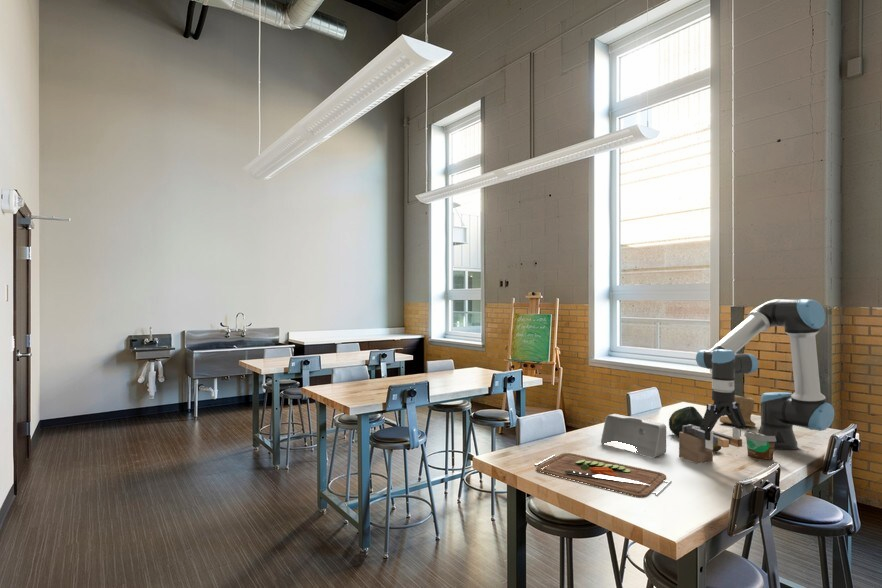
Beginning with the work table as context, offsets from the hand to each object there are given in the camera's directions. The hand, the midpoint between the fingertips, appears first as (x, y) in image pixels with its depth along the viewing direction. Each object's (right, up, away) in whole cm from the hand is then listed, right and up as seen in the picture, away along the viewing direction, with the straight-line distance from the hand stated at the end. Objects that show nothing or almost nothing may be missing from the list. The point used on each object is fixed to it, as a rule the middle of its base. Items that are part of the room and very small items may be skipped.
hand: (722, 447), depth 190 cm
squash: (+9, -9, +45) cm, 47 cm away
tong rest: (-2, -8, +5) cm, 10 cm away
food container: (+21, -9, +14) cm, 27 cm away
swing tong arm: (-5, +2, +3) cm, 6 cm away
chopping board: (-48, -9, -6) cm, 49 cm away
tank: (-22, -9, +27) cm, 36 cm away
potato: (+5, -9, +24) cm, 26 cm away
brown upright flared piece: (+45, -9, +67) cm, 82 cm away
